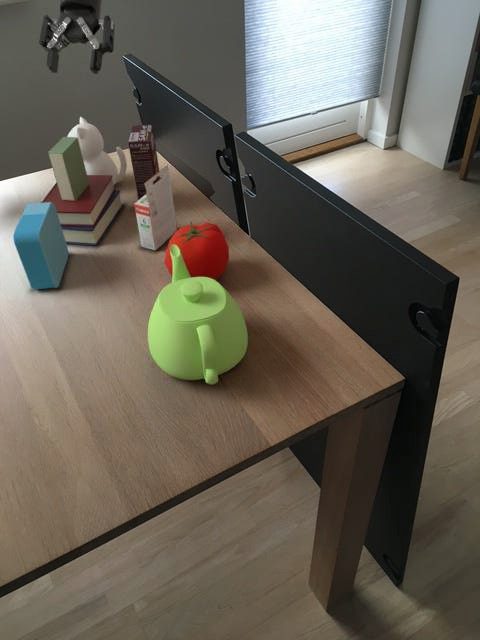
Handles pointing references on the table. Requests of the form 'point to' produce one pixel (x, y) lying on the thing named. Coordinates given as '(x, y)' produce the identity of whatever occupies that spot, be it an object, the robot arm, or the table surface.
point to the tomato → (200, 250)
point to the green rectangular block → (69, 168)
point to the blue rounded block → (41, 245)
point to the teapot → (195, 326)
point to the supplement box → (143, 156)
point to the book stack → (87, 211)
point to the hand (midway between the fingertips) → (73, 71)
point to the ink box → (156, 212)
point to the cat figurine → (97, 152)
